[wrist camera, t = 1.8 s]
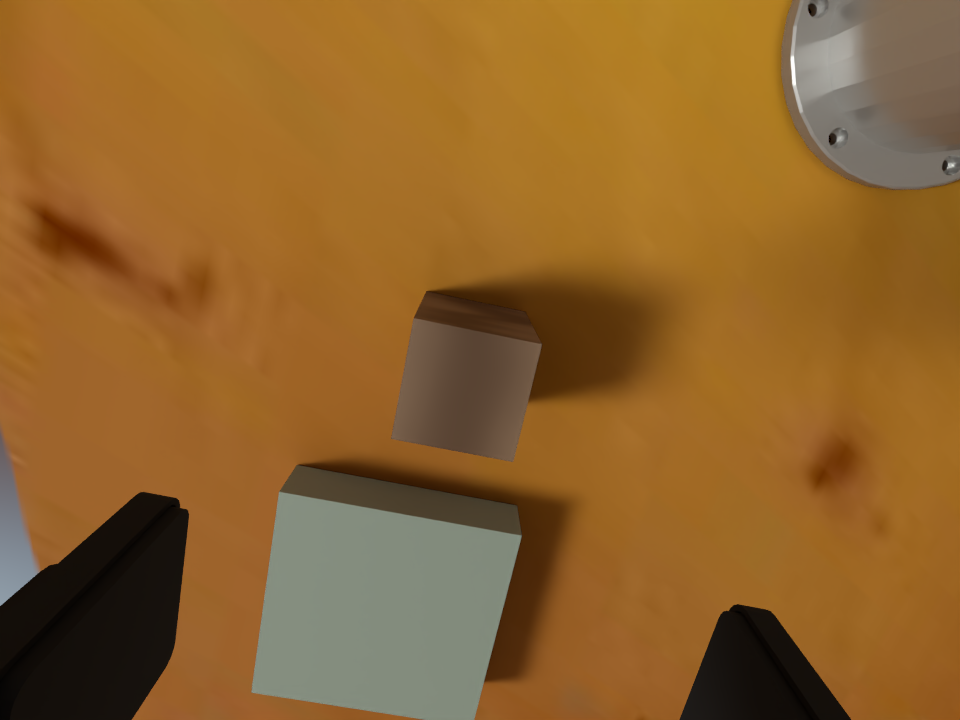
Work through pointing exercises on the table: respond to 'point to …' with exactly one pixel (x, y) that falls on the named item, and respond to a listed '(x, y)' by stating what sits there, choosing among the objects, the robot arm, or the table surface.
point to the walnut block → (467, 377)
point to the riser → (383, 595)
